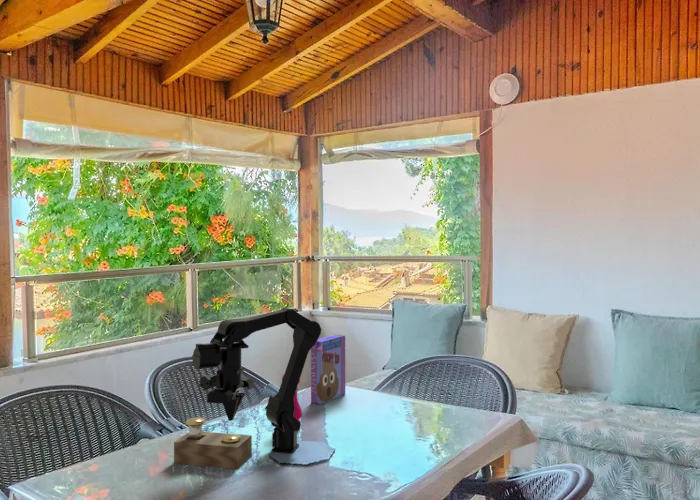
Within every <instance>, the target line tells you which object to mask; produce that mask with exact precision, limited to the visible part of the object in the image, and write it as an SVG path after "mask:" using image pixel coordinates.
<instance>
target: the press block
mask: <svg viewBox="0 0 700 500" xmlns="http://www.w3.org/2000/svg"><path fill="white" fill-rule="evenodd" d="M230 434H231V433H225V432H224V433H223V432H213V431H202V439H200V440H189V432H187V433H186V434H184V435H182V436H181V437H179V438H178V439H176V440H174V441H173V464H175V465H176V464H177V465H179V464H180V465H188V466H201V467H210V468H222V469H229V470H230V469H232V470H238V469H239V468H241V467H242V466H243V465H244V464H245V463H246V462H247V461H248V460H249V459H251V457H252V455H253V452H252V451H253V449H252V447H253V446H252V443H253V439H252V437H253V436H252V435H251V434H250V435H249V434H237V433H235V434H236V435H240V436H241V440H240V441H239V442H237V443H224V442H222V437H223V436H225V435H230Z"/></svg>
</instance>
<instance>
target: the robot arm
mask: <svg viewBox="0 0 700 500" xmlns="http://www.w3.org/2000/svg"><path fill="white" fill-rule="evenodd" d="M284 324H286V325H287V326H288V327H289V328H291V329H292V330H293V334H292V340H293V341H292V343H293V347H292V350H291V353H290V356H289V360H288V361H287V362H288V363H287V365H286V368H285V370H284V371H285V372H284V374H283V375H284V377H283V376H282V377H283V380H282V379H281V383H280V387H279V389H278V391H277V393H276V394H275V395H274V396H272V395H269V397H268V401H267V404H266V406H265V407H264V409H265V416H266V418H267V420H268V421H269V422H270V423H271V424H270V425H271V426H272V427H274V428H273V433H272V434H271V437H272V441H271V442H272V443H271V446H272V448H271V451H272V452H280V453H290V452H292V453H294V452H295V451H296V449H297V448H298V447H299V446H300V444H299V443H298V431H300V428H301V426H302V423H301V421H300V422H299V421H298V420H297V419H296V418H295V417H294V410H295V404H294V395H295V392H296V389H297V386H298V387H299V384H300V383H299V380H300V381H301V377H302V373H303V371H304V368H305V364H306V362H307V357H308V355H309V352H310V351H311V348H312V347H313V346H314V345H315V344H316V342H317V340H318V339H320V336H321V334H322V327H321V325H320V323H318V322H317V321H315V320H310V319H309V318H307V317H305V316H304V315H302V314H300V313H298V311H296V310H295V309H293V308H288V307H282V308H281V309H277V310H274V311H270V312H267V313H262V314H260V315H256V316H252V317H249V318H230V319H224V320H222V321H221V322H220V323H219V325H218V328H217V331H216V332H215V334H214V336H213V337H212V338H211V340H210V341H209V343H195V348H194V349H193V351H192V352H193V353H192V357H191V358H192V365H193V367H194V369H195V370H205V369H211V368H217V367H218V366H220V368H219V369H217V370H216V374H212V375H210V376H209V374H206V375H202V376H200V377H199V384H198V386H199V387H200V388H201V389H203V391H204V392H205V391H208V390H209V389H212V388H214V389H212V390H210V391H209V392H208V393H207V394H206V403H209V404H210V403H211V404H222V405H223V408H224V411H225V413H226V417H227V420H228V421H230V422H232V421H234V419H235V416H236V414H237V412H238V409H239V408H240V406H241V403H242V402H243V400H244V397H245V396H246V393H244V392H241V390H240V389H242V388H246V389H247V390H249V391H250V390H251V389H252V390H253V388H254V381H253V379H252V378H250V377H242V373H243V372H244V370H245V367H242V350H243V349H249V345H248V344H247V343H246V342H245V341H244V340H245V339H246V338H248V337H249V336H250V335H252V334H254V333H255V332H259V331H262V330H266V329H269V328H273V327H277V326H280V325H284ZM298 383H299V384H298ZM293 451H294V452H293Z"/></svg>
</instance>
